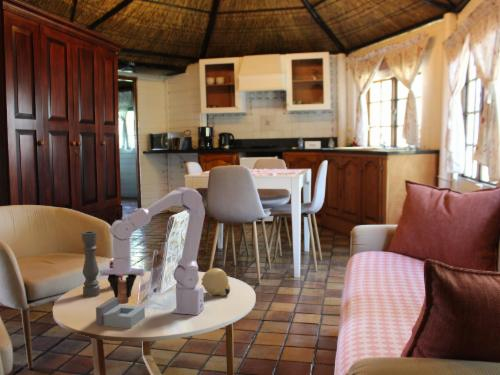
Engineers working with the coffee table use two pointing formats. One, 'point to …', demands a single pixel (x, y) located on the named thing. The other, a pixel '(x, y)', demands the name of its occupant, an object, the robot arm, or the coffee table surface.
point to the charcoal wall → (105, 309)
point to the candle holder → (90, 265)
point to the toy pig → (216, 282)
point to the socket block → (124, 316)
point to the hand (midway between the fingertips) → (122, 296)
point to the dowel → (122, 292)
